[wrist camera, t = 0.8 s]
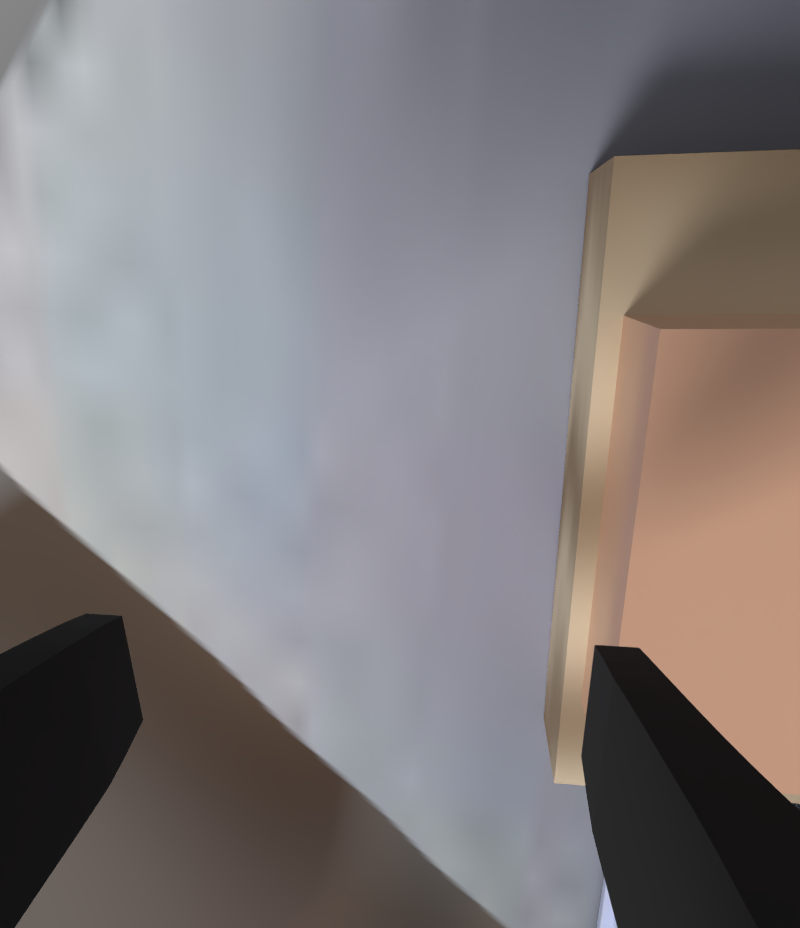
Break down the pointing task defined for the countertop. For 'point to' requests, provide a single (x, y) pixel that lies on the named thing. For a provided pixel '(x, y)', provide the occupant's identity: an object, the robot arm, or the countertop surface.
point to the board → (653, 293)
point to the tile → (709, 523)
